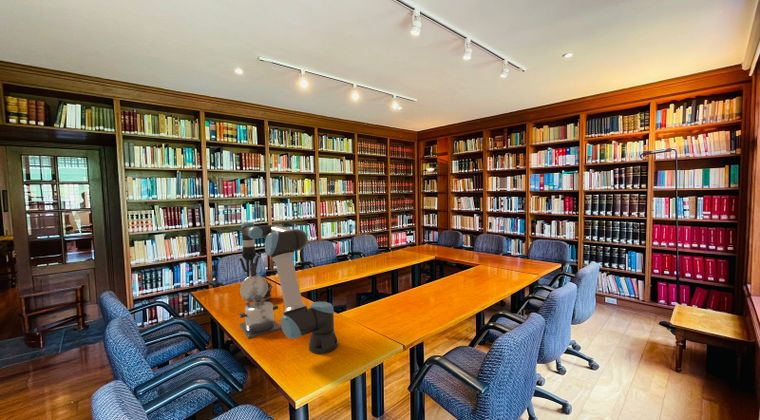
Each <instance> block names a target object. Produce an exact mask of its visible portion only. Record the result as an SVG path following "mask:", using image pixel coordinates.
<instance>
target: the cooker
mask: <svg viewBox="0 0 760 420" xmlns="http://www.w3.org/2000/svg"><path fill="white" fill-rule="evenodd" d="M275 310H279V306H278V305H277V304H275V305H274V303H273V302H272V301H271V302H270V301H265V300H264V299H261V302H252V303H251V302H248V301H246V302H245V308H244V312H242V313H239V318H240V319H243V318H245V322H242V323H241V322H240V323H238V324H239V328H241V330H242V331H243V333H244V335H245V336H246V338H247V339H248V340H249V339H253V338H256V337H258V336H263V335H265V334H268V333H269V334H270V333H273V332H277V331H281V330H282V327H281V324H279V323H278V322H277V321H276V320H275V317H274V316H275V314H274V311H275Z"/></svg>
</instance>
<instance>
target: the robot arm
mask: <svg viewBox="0 0 760 420" xmlns="http://www.w3.org/2000/svg"><path fill="white" fill-rule="evenodd" d="M254 223H255V222H252V221H248V222H247V221H246V222H242V223H241V228H240V230H241V244H242V254H241V256H240V257H238V260H239V261H240V264H241V267H242V271H243V272H244V273H246V278H248V277H249V276H251V272H250V264H251V263H256V270H257V268H258V263H259V259H260V256H261V255H259V254H257V253H256V246H255V244H256V241H255V240H258V239H261V238H265V241H264V251H265V253H266V255H267V256H270V257H271V260H272V261H273V262H274V263H275V267H276V272H277V276H278V279H279V284H280V289H281V294H282V298H283V304H284V306H285V309H284V310H283V312H282V314H283V315H282V317H281V318H280V326H281V327H282V329H281V330H282V332H283V334H284V335H285V336H286V338H287V339H290V340H293V339H297V338H301V337H303V336H305V335H308V334H310V333H311V334H310V339H309V342H308V350H309V351H310V352H312V353H314V354H328V353H331V352H333V351H335V350H336V349H337V348H338V347H339V343H338V342H339V341H338V337H337V335H336V332H335V321H334V315H335V314H334V312H335V311H334V305H333V304H332V303H330V302H326V301H314V302H312V303H311V304H310V306H309V307H310V308H308V307H307V304H305V303H303V298H302V294H301V289H300V287H299V286H300V285H299V281H298V277H297V272H296V268H295V264H294V263H295V262H294V260H293V257H294V256H295V252H298V251H302V250H303V249H304V248H305V247H306V246H307V243H308V238H309V237H308V235H307V233H306V232H305V231H304V230H302V229H299V228H298V229H297V228H295V229H292V228H287V227H284V226H283V225H282V223H281V224H280V223H275V224H266V225H255V224H254ZM254 259H255V260H254ZM244 260H245V263H244Z"/></svg>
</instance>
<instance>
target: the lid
mask: <svg viewBox="0 0 760 420" xmlns="http://www.w3.org/2000/svg"><path fill="white" fill-rule="evenodd" d="M249 272H251V276H249V277H246V278H245V279H243V281H242V282H241V284H240V287H239V293H240V296H241V297H242V299H243V300H245V301H246V302H250V303H257V302H256V301H259V300H261V299H262V298H263V297H264V296H265V295H266V293H267V291H268V283H269V282H268V280H267V281H266V279H265V278H264V277H263V276H261V275H258V274H257V269H256V263H255V262H253V263H251V264H250V263H249ZM267 282H268V283H267Z"/></svg>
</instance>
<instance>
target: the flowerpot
mask: <svg viewBox="0 0 760 420" xmlns="http://www.w3.org/2000/svg"><path fill="white" fill-rule="evenodd" d="M265 280H266V279H265ZM266 281H267V283H268V291H267V293H266V295H265V296H264V297H263V298H262V299H264V300H265V302H269V300H270V299H271V297H272V295H271V291H272V289H273V285H272V284H271V283H270V282H269V281H268V280H266ZM257 302H261V300H259V301H256V302H255V303H257Z"/></svg>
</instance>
